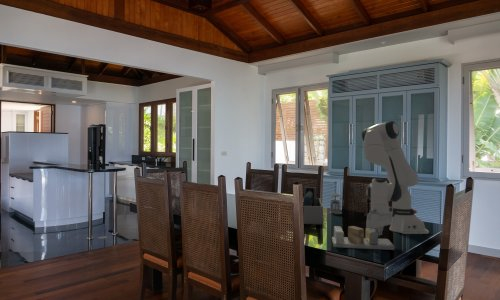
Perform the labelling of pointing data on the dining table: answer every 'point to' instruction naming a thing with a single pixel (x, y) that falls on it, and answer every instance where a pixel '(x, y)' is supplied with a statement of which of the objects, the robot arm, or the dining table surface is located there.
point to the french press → (336, 203)
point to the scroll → (368, 207)
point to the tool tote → (313, 213)
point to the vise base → (345, 243)
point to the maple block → (355, 234)
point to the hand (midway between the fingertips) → (379, 234)
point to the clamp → (309, 196)
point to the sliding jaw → (371, 236)
